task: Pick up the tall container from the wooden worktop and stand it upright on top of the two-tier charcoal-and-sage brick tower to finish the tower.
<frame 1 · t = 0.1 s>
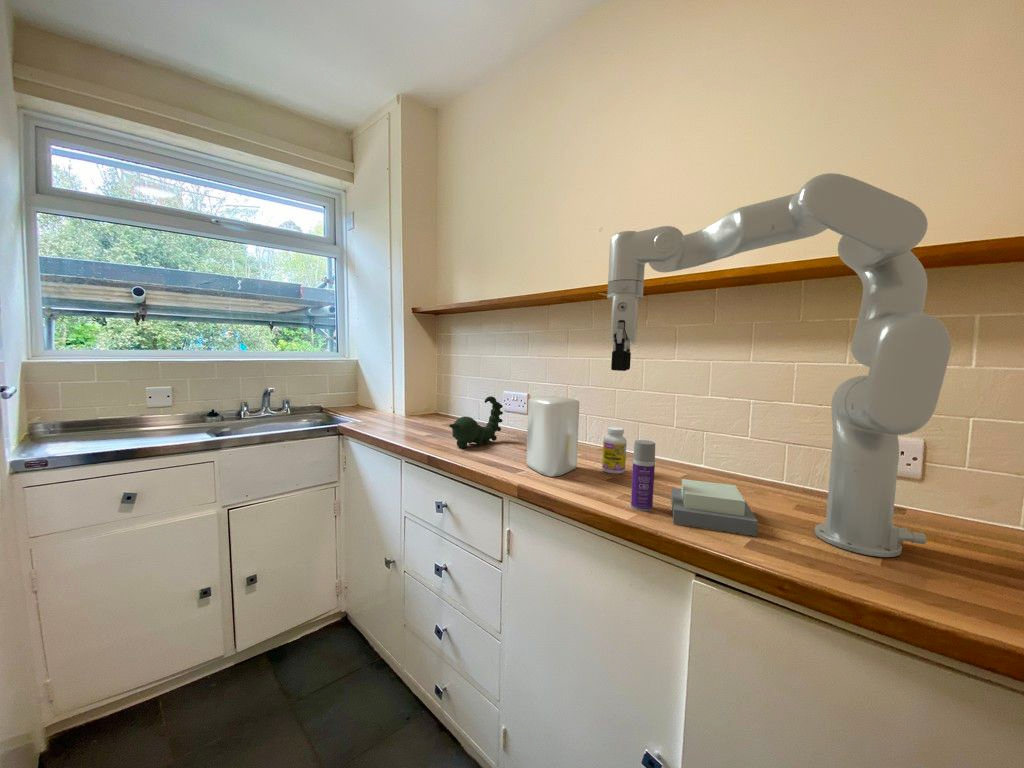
hand: (620, 369, 91), 31 cm above the worktop, tool pointing down, fingers open, 9 cm apart
container: (641, 508, 93), on the worktop
supplement bottle: (613, 471, 122), on the worktop
toy figurine: (475, 445, 151), on the worktop
white rounded canister: (551, 471, 120), on the worktop
tower base: (709, 516, 89), on the worktop
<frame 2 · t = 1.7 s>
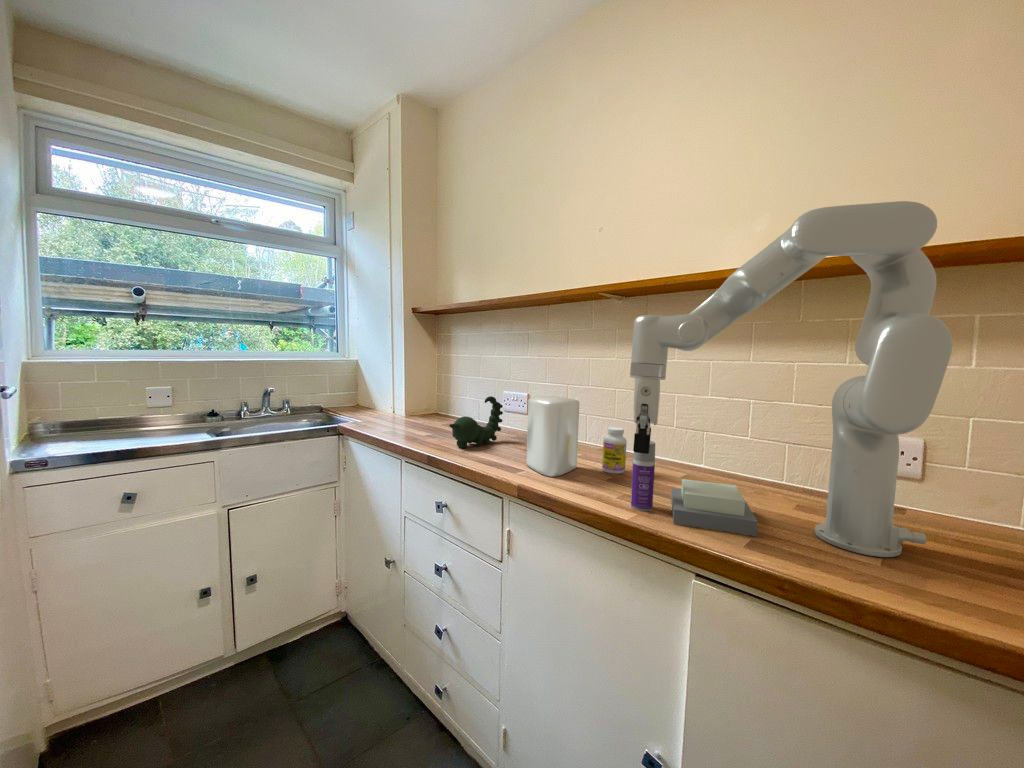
hand: (641, 448, 92), 14 cm above the worktop, tool pointing down, fingers open, 9 cm apart
nothing on the worktop moved.
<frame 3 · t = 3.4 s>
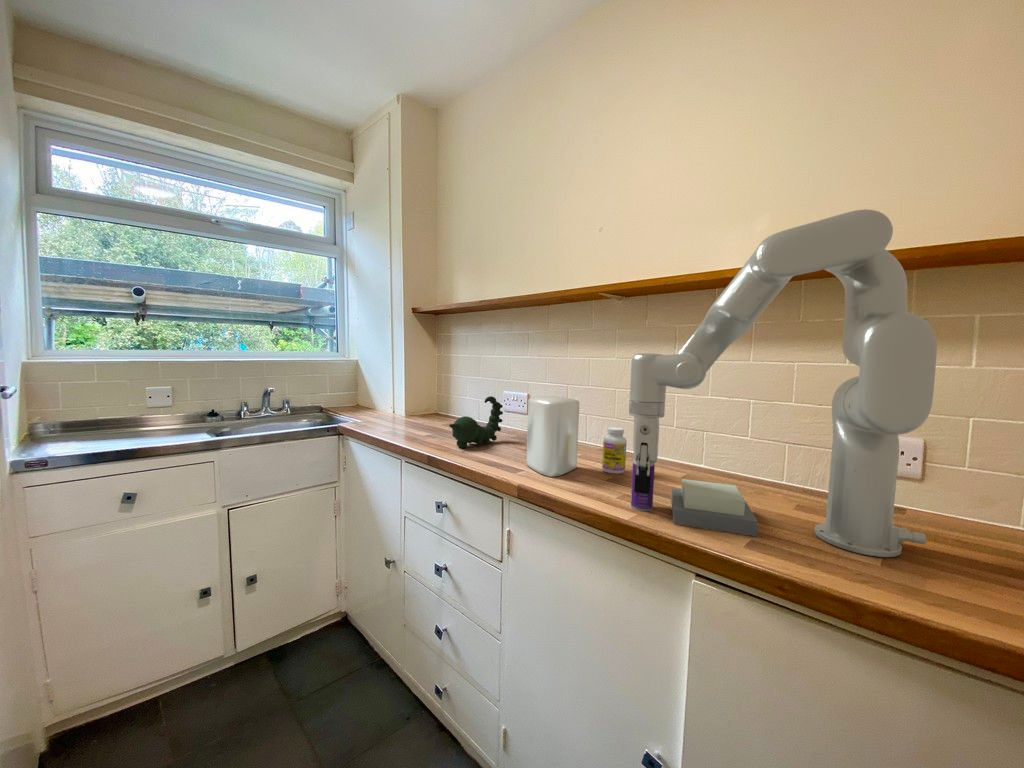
hand: (642, 488, 93), 4 cm above the worktop, tool pointing down, fingers closed on container, 4 cm apart
container: (641, 508, 93), on the worktop, touching gripper
everything else where it was.
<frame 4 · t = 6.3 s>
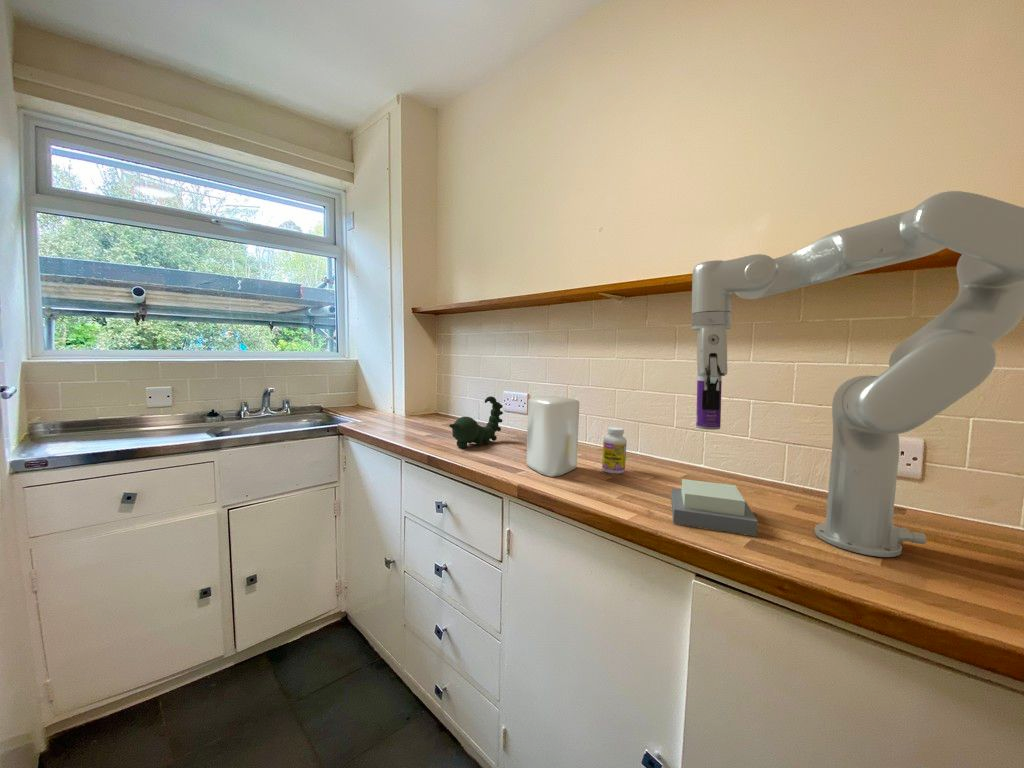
hand: (708, 407, 87), 24 cm above the worktop, tool pointing down, fingers closed on container, 4 cm apart
container: (708, 428, 88), point 19 cm above the worktop, touching gripper
everything else where it was.
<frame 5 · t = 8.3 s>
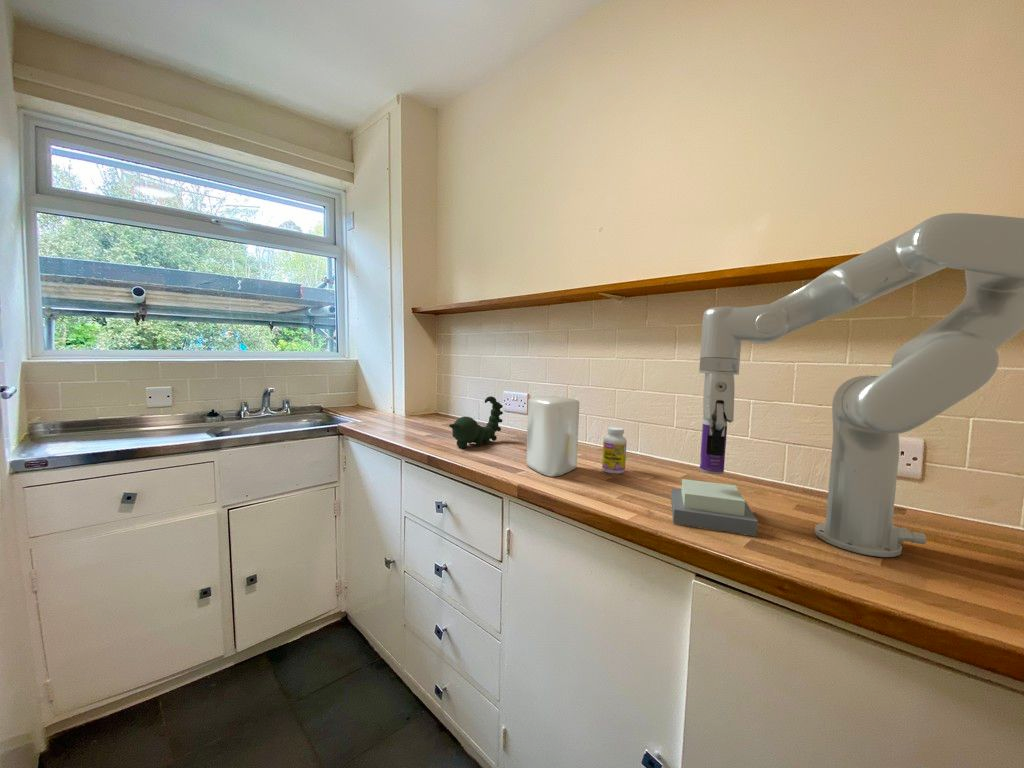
hand: (713, 451, 88), 14 cm above the worktop, tool pointing down, fingers closed on container, 4 cm apart
container: (711, 472, 88), point 10 cm above the worktop, touching gripper
everything else where it was.
when the fingers open (12 cm above the worktop, at t = 9.2 s): container drops 1 cm, resting on tower base.
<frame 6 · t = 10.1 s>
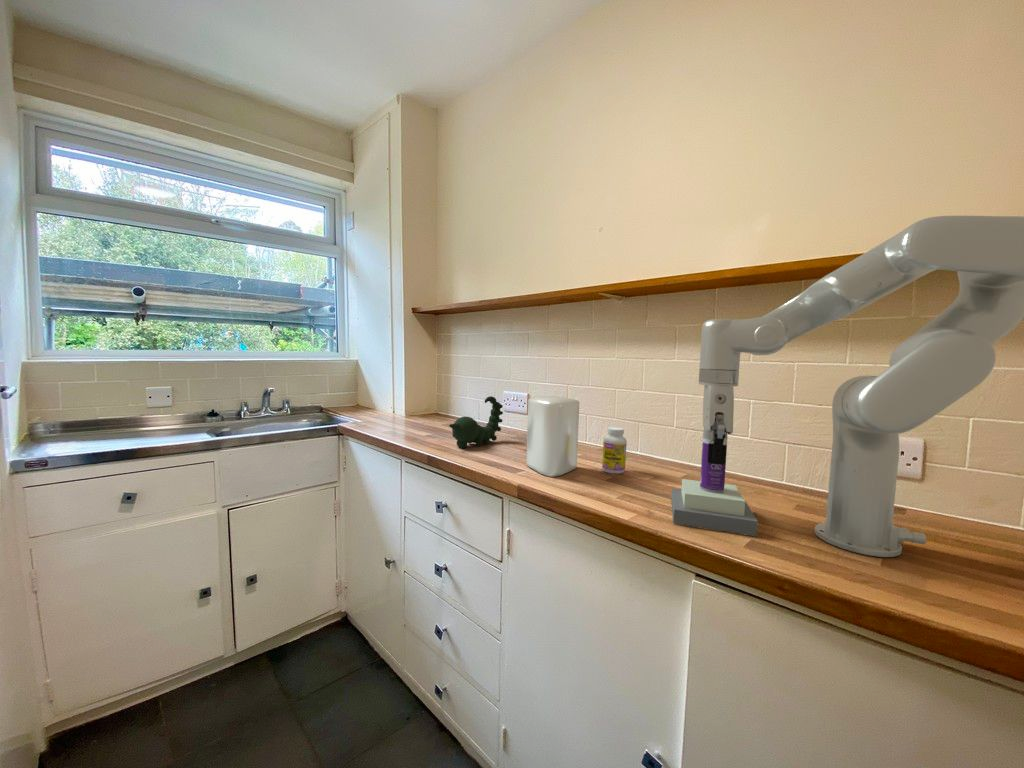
hand: (713, 458, 88), 13 cm above the worktop, tool pointing down, fingers open, 9 cm apart
container: (711, 490, 88), point 6 cm above the worktop, touching tower base
everything else where it was.
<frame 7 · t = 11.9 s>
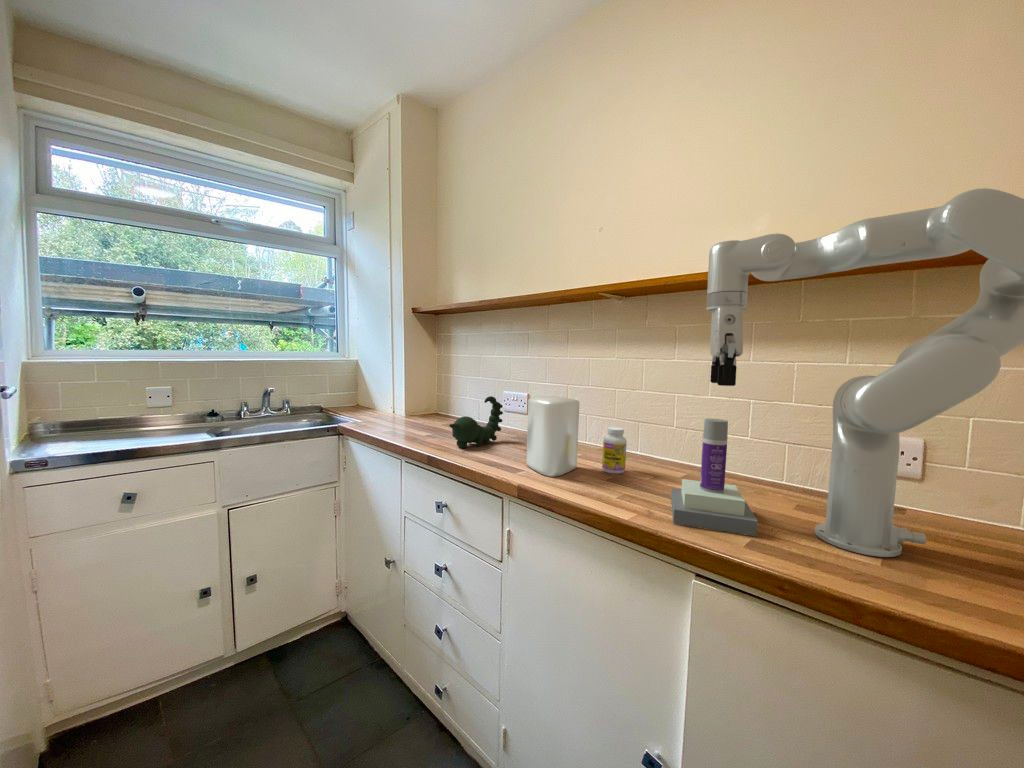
hand: (722, 384, 87), 29 cm above the worktop, tool pointing down, fingers open, 9 cm apart
nothing on the worktop moved.
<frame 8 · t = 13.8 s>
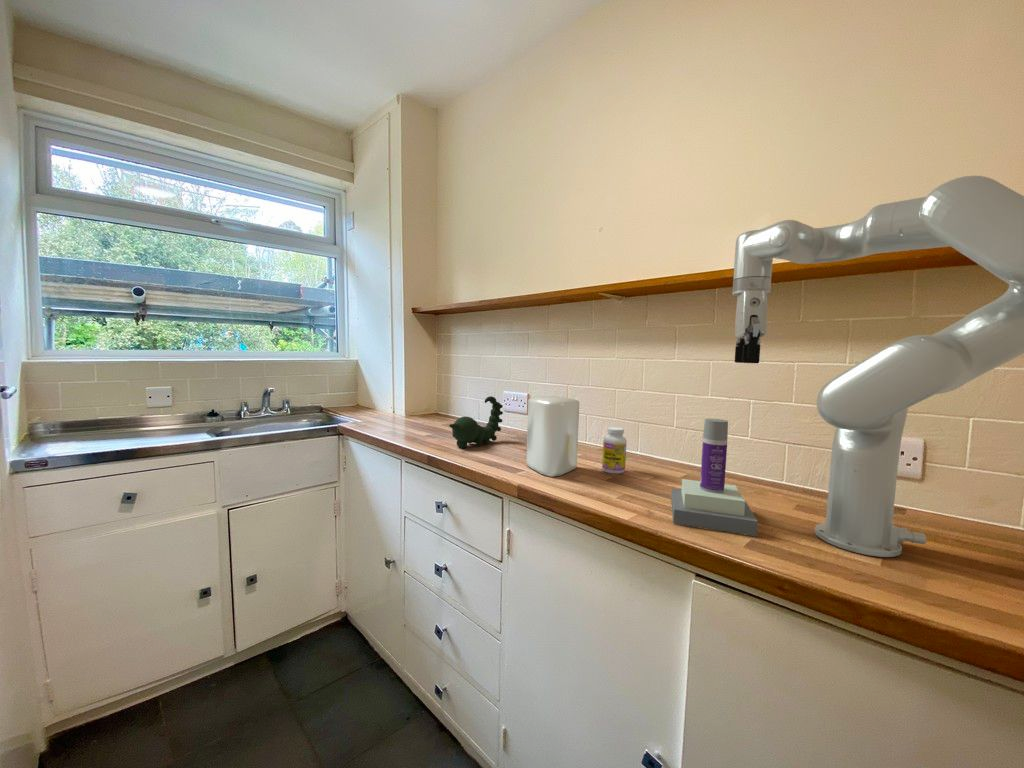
hand: (746, 362, 95), 33 cm above the worktop, tool pointing down, fingers open, 9 cm apart
nothing on the worktop moved.
at the end: container inside the target area on the tower base (0.1 cm from its centre), point 5.8 cm above the tower base's base; container tilted 0°; the gripper is holding nothing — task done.
